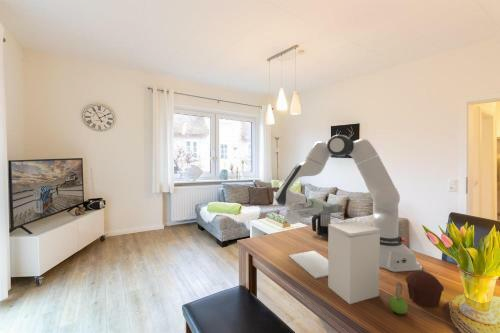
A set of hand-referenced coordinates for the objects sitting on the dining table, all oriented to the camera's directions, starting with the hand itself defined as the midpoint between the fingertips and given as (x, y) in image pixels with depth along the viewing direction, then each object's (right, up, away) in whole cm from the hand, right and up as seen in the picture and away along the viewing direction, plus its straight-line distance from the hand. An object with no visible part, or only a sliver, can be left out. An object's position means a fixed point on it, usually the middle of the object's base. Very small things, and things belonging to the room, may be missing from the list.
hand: (315, 202), depth 114 cm
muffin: (+32, -32, -27) cm, 53 cm away
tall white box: (+9, -32, -21) cm, 39 cm away
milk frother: (+19, -29, +42) cm, 54 cm away
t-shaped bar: (+2, -2, -4) cm, 5 cm away
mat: (0, -31, +2) cm, 31 cm away
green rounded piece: (+18, -33, -34) cm, 51 cm away
